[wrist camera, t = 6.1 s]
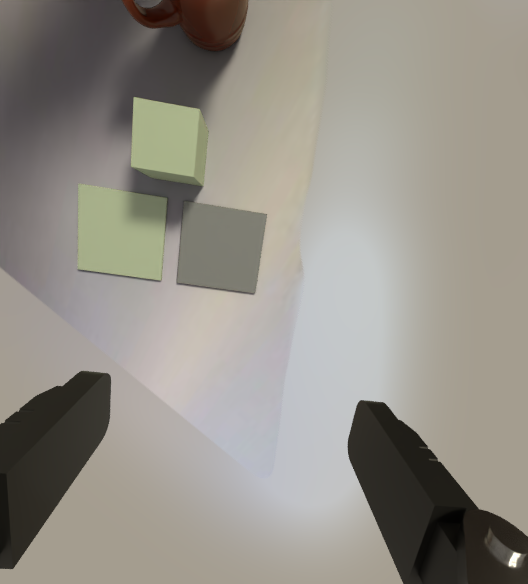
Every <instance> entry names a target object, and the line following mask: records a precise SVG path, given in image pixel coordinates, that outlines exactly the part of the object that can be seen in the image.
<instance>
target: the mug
mask: <svg viewBox="0 0 528 584" xmlns="http://www.w3.org/2000/svg"><path fill="white" fill-rule="evenodd" d="M121 1H122V2H123V4H124V6H125V7H126V9H127V10H128V12H129V13H130V14H131V16H132V17H133V18H134V19H135V20H136V21H137V22H138V23H140V24H141V25H143V26H145V27H148V28H152V29H156V28H166V27H173V26H176V25H180V26H181V28H182V30H183V31H184V32H185V34H186V35H187V37H188V38H189V39H190V40H191V41H192V42H193V43H194V44H195V45H197V46H199V47H200V48H203V49H205V50H209V51H219V50H223V49H226V48H228V47H229V46H231V45H232V44H233V43H234V42H235V41H236V40H237V39H238V38H239V36H240V34H241V32H242V30H243V27H244V23H245V20H246V16H247V10H248V0H162V1H161V2H160V3H159V4H158V5H156V6H154V7H152V8H144V7H141V6H139V5H138V4H137V3H136V2H135V1H134V0H121Z"/></svg>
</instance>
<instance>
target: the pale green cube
mask: <svg viewBox="0 0 528 584" xmlns="http://www.w3.org/2000/svg"><path fill="white" fill-rule="evenodd" d="M208 132H209V131H208V129H207V126H206V124H205V121H204V119H203V116H202V114H201V111H200V109H196V108H190V107H185V106H179V105H174V104H169V103H163V102H158V101H152V100H147V99H142V98H136V97H134V102H133V126H132V151H131V167H133V168H134V169H136V170H138V171H140V172H142V173H144V174H145V175H147V176H149V177H151V178H155V179H161V180H167V181H173V182H180V183H186V184H192V185H198V186H203V185H204V174H205V164H206V153H207V143H208Z"/></svg>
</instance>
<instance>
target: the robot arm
mask: <svg viewBox="0 0 528 584" xmlns="http://www.w3.org/2000/svg"><path fill="white" fill-rule="evenodd" d="M110 395H111V377H110V375H109V374H108V373H99V372H89V371H81V372H79V373H78V374H76V375H75V376H74V377H73V378H72V379H70V380H69V381H68V382H67V383H66V384H65V385H64V386H56V387H54V388H52V389H50V390H48V391H45V392H43V393H41V394H39V395H37V396H35V397H34V398H33V399H32V400H30V401H29V402H28V403H27V404H25V405H24V406H23V407H22V408H20V410H19V412H15V413H14V414H13V415H11V416H10V417H9V418H8V419H6V420H5V423H1V424H0V569H13V568H14V567H15V565H16V564H17V562H18V561H19V560H20V558H21V557H22V555H23V554H24V552H25V551H26V549H27V548H28V547H29V545H30V544H31V542H32V541H33V539H34V538H35V536H36V535H37V534H38V532H39V531H40V529H41V528H42V526H43V525H44V523H45V522H46V520H47V519H48V518H49V516H50V515H51V513H52V512H53V510H54V509H55V507H56V506H57V505H58V503H59V502H60V500H61V499H62V497H63V496H64V494H65V493H66V491H67V490H68V489H69V487H70V486H71V484H72V483H73V481H74V480H75V478H76V477H77V476H78V474H79V473H80V471H81V470H82V468H83V467H84V465H85V464H86V462H87V461H88V460H89V458H90V457H91V455H92V454H93V452H94V451H95V449H96V448H97V447H98V445H99V444H100V442H101V441H102V439H103V437H104V435H105V433H106V431H107V428H108V424H109V419H110ZM348 455H349V459H350V462H351V464H352V466H353V469H354V471H355V473H356V476H357V478H358V480H359V483H360V485H361V487H362V489H363V492H364V494H365V496H366V499H367V501H368V503H369V506H370V508H371V510H372V512H373V515H374V517H375V519H376V522H377V524H378V526H379V529H380V531H381V533H382V536H383V538H384V540H385V542H386V545H387V547H388V549H389V552H390V554H391V556H392V558H393V561H394V563H395V565H396V568H397V570H398V572H399V575H400V577H401V579H402V581H403V584H528V536H526V535H525V534H524V533H523V532H522V531H520V530H519V529H518V528H517V527H515V526H514V525H512V524H511V523H510V522H508V521H506V520H505V519H503V518H501V517H499V516H497V515H495V514H493V513H490V512H488V511H484V510H480V509H478V507H477V506H476V505H475V504H474V502H473V501H472V500H471V499H470V498H469V497H468V495H467V494H466V493H465V491H464V490H463V489H462V488H461V487H460V485H459V484H458V483H457V482H456V480H455V479H454V478H453V477H452V476H451V474H450V473H449V472H448V471H447V469H446V468H445V467H444V466H443V465H442V463H441V462H438V460H437V457H436V456H435V455H434V454H433V453H432V451H431V450H430V449H428V446H427V445H426V444H425V443H424V441H423V440H422V439H421V438H420V436H419V435H418V434H417V433H416V432H415V431H414V430H412V429H411V428H410V427H408V426H407V425H406V424H405V423H404V422H402V421H401V420H398V419H397V418H396V416H395V415H394V414H393V413H392V411H391V410H390V409H389V407H388V406H387V405H386V404H385V403H383V402H374V401H364V400H361V401H359V403H358V405H357V408H356V411H355V415H354V419H353V423H352V427H351V431H350V435H349V438H348Z"/></svg>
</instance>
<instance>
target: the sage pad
mask: <svg viewBox="0 0 528 584" xmlns="http://www.w3.org/2000/svg"><path fill="white" fill-rule="evenodd" d="M167 200H168V198H164V197H158V196H152V195H145V194H139V193H133V192H127V191H121V190H115V189H108V188H102V187H96V186H90V185H84V184H78V269H81V270H88V271H95V272H103V273H110V274H117V275H125V276H132V277H139V278H146V279H154V280H162V267H163V254H164V240H165V227H166V214H167Z"/></svg>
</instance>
